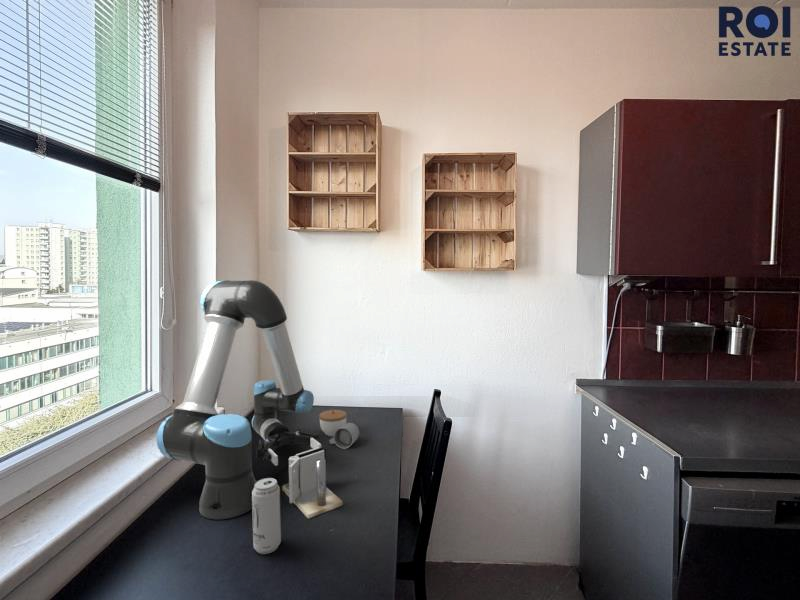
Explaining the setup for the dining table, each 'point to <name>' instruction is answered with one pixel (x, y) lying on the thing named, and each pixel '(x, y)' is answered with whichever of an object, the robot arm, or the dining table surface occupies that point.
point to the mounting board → (313, 508)
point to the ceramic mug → (345, 435)
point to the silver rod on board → (320, 491)
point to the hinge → (304, 471)
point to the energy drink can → (266, 516)
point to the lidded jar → (332, 421)
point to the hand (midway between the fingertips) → (299, 454)
